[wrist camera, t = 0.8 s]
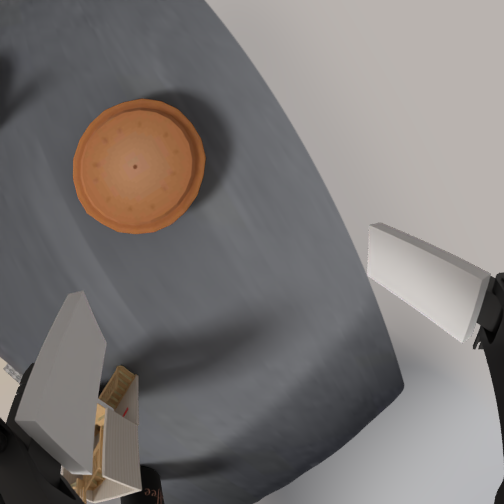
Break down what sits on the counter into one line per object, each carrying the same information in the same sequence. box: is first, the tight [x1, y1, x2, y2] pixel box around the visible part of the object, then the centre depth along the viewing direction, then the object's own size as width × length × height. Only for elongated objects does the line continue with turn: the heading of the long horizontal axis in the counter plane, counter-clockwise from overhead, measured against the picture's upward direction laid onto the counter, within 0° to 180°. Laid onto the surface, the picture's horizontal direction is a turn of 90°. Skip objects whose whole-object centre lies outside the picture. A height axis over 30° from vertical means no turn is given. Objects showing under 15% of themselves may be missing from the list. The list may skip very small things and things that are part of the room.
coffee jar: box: [121, 466, 164, 504], centre depth 42 cm, size 11×11×18 cm
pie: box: [73, 99, 206, 234], centre depth 29 cm, size 15×16×5 cm
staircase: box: [3, 363, 142, 504], centre depth 27 cm, size 8×12×26 cm
